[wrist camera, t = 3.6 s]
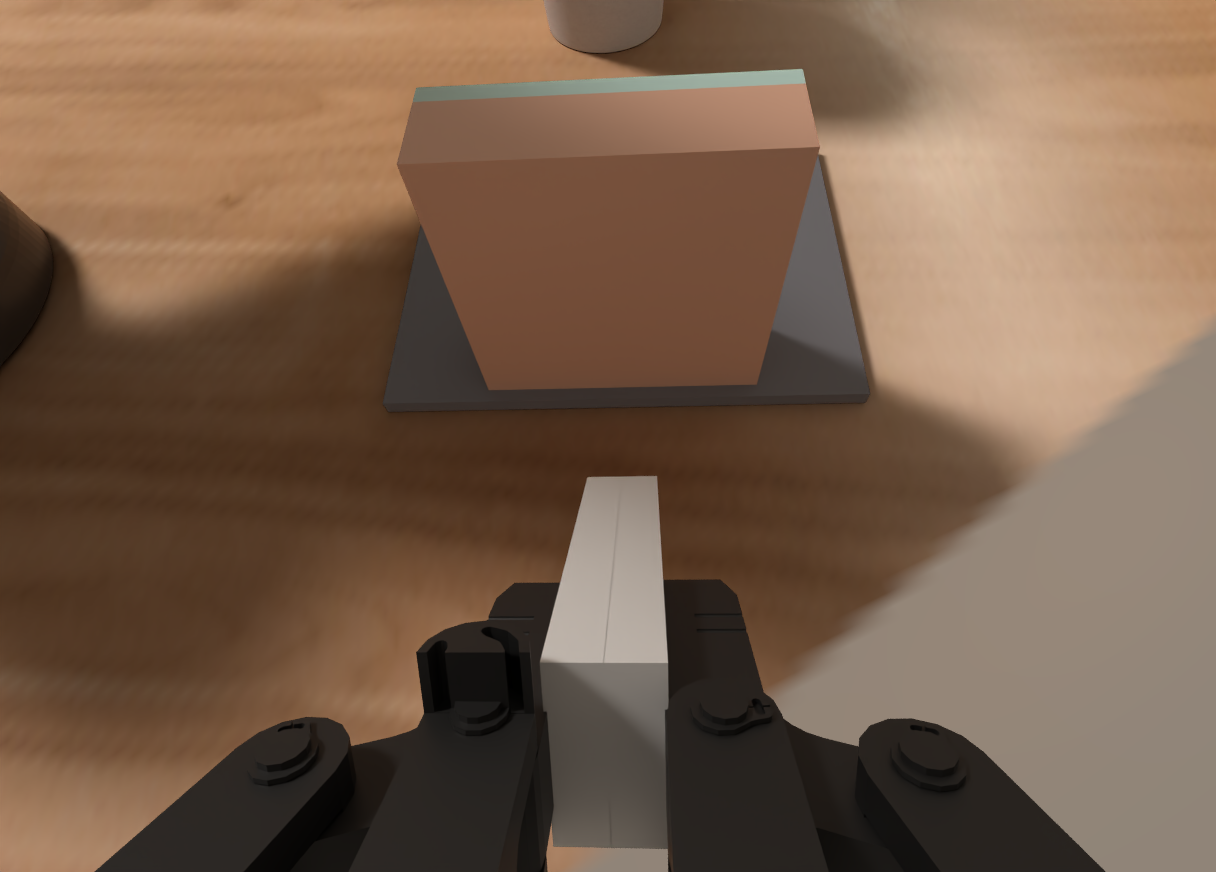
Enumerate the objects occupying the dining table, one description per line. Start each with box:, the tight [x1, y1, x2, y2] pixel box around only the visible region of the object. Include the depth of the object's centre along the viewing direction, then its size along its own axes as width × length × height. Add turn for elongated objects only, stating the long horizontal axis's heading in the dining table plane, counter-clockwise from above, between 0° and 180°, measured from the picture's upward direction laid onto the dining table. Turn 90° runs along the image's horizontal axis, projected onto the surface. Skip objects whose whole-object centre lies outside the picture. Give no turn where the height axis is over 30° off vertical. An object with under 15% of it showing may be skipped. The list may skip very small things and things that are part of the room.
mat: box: [383, 156, 870, 412], centre depth 27 cm, size 18×14×1 cm
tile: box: [397, 69, 820, 390], centre depth 20 cm, size 10×3×10 cm, turn 89°
